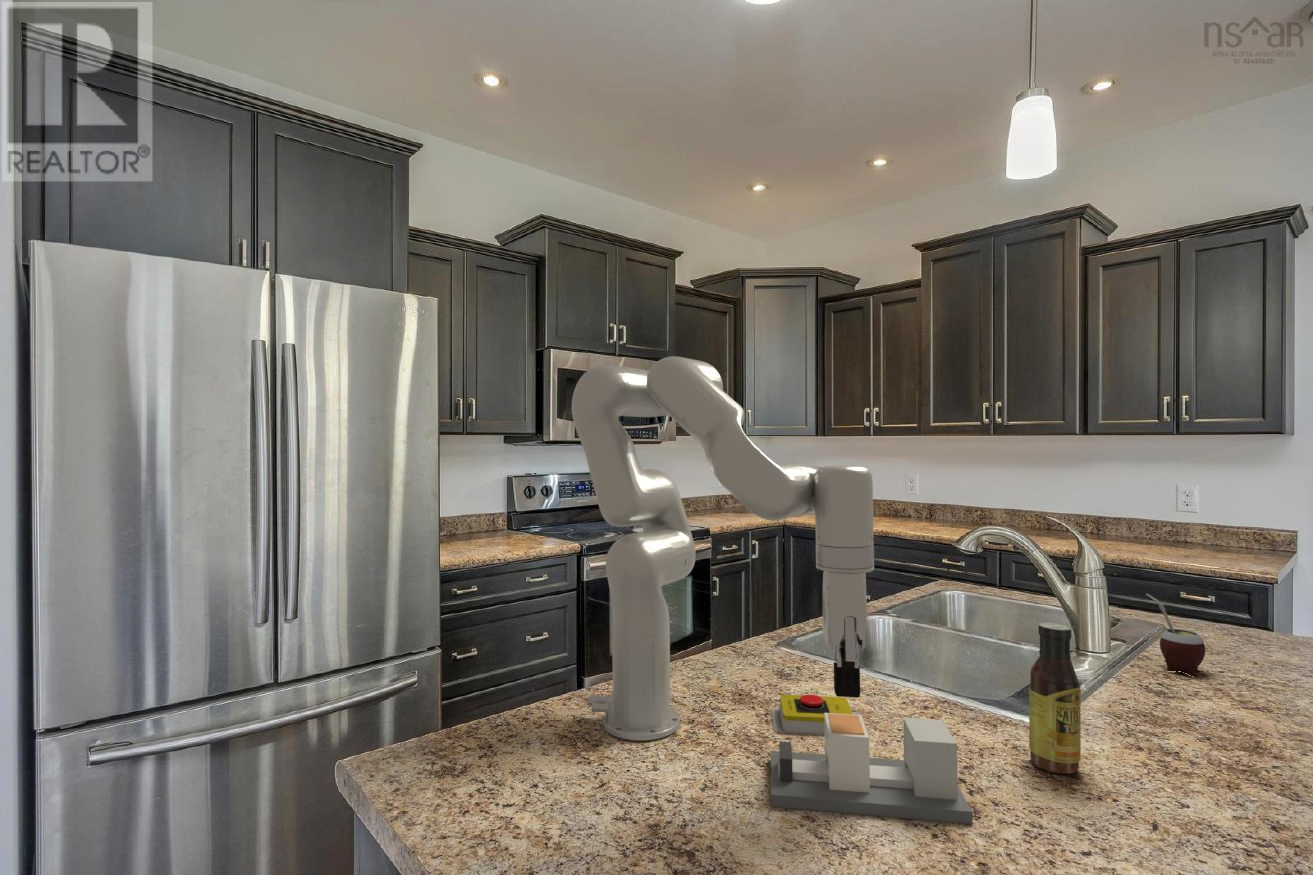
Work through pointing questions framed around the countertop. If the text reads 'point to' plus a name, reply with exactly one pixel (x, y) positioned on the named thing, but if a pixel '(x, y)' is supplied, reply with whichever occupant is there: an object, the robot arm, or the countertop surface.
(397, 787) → the countertop surface
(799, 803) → the rail board
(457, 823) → the countertop surface
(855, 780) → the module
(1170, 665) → the mate gourd
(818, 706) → the emergency button
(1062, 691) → the sauce bottle
